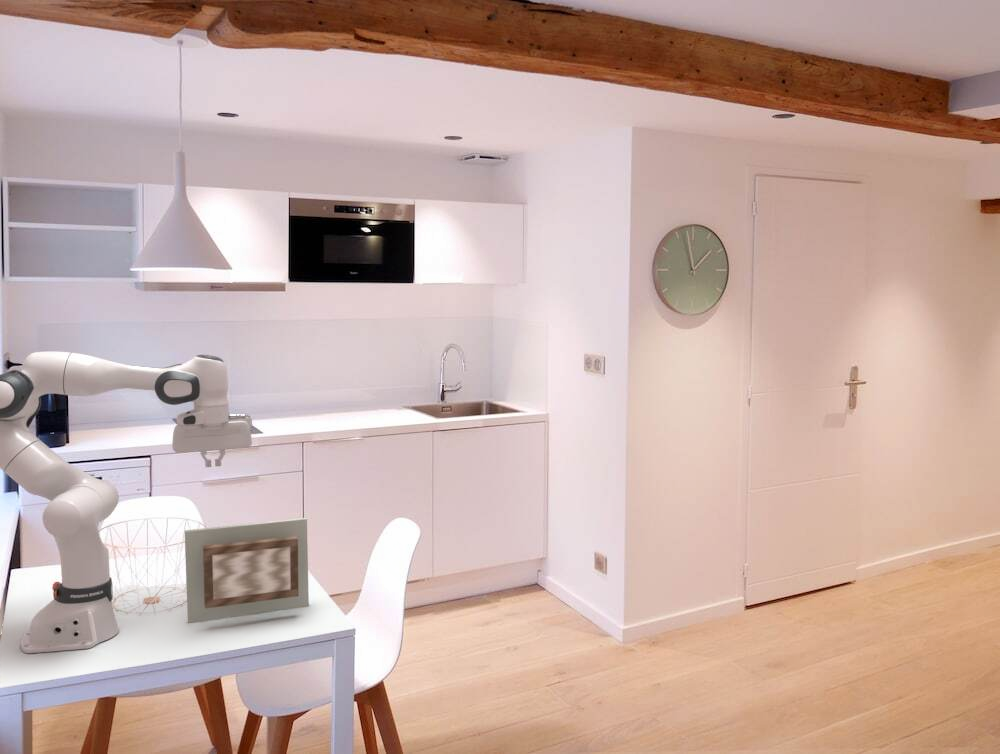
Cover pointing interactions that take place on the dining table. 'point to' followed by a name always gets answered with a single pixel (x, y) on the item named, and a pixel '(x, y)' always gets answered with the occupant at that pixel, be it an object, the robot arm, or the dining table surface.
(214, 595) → the walnut frame
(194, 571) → the sage wall panel
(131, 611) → the dining table surface
